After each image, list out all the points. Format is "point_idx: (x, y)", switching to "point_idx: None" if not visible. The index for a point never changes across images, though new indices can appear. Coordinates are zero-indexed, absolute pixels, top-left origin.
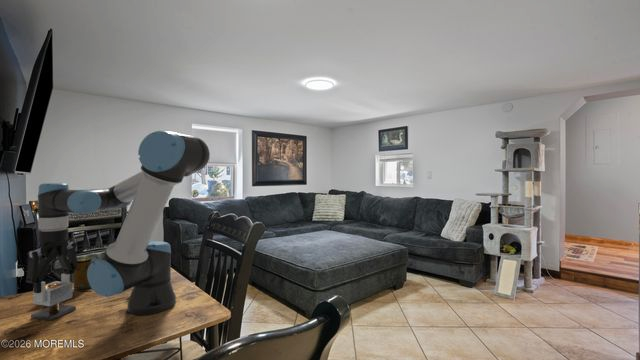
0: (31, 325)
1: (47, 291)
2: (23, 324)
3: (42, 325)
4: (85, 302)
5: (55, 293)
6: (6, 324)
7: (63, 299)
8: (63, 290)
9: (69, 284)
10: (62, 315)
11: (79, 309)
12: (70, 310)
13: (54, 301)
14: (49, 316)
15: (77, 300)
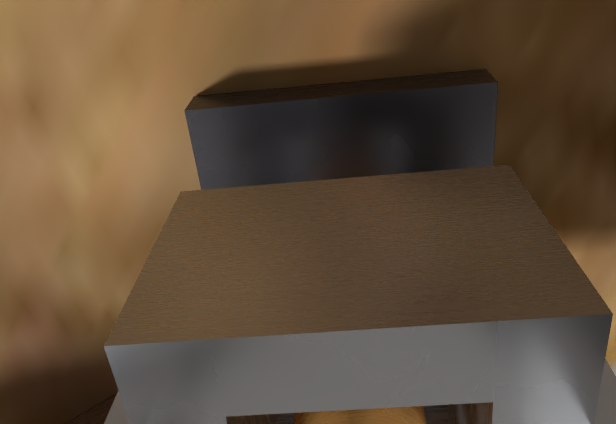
0: (605, 149)
1: (597, 362)
2: (595, 240)
3: (591, 37)
4: (34, 187)
5: (468, 264)
6: (612, 360)
7: (315, 190)
8: (312, 274)
9: (172, 337)
10: (349, 82)
11: (167, 63)
12: (253, 96)
13: (456, 193)
14: (485, 112)
15: (58, 304)
